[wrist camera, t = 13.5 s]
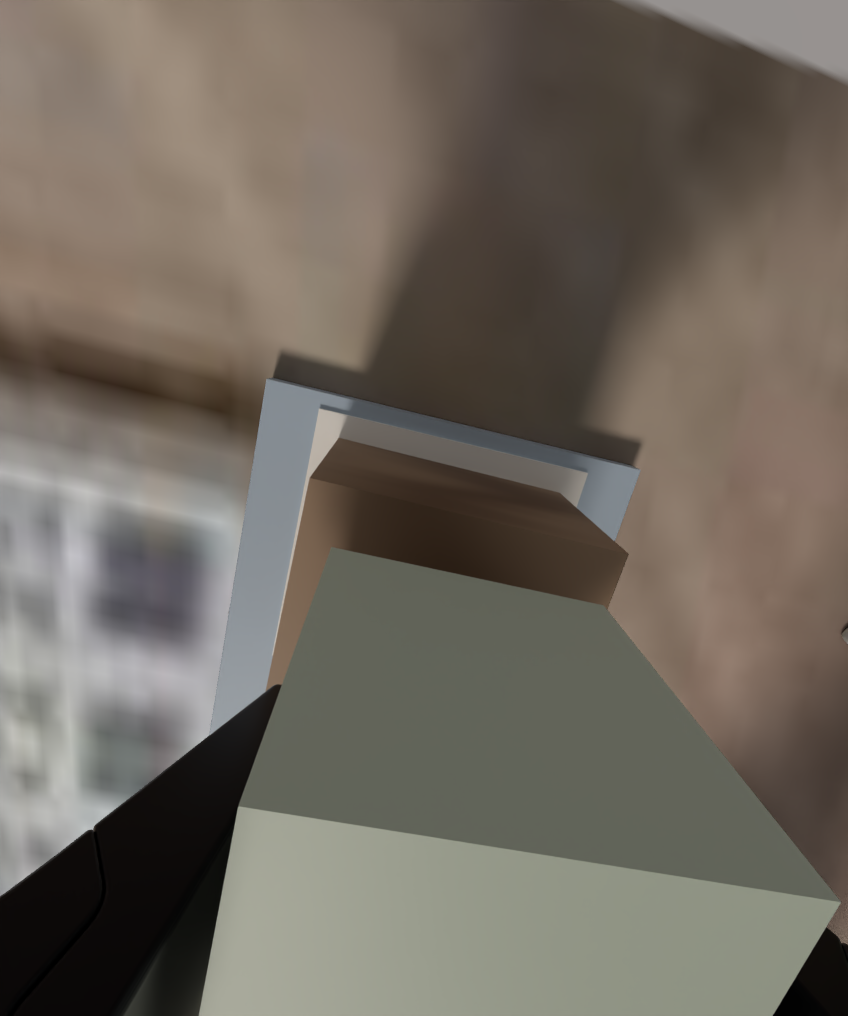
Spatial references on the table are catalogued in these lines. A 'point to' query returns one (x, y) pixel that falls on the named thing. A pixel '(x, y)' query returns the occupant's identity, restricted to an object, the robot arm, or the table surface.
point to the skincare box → (845, 635)
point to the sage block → (496, 823)
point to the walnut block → (441, 531)
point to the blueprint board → (328, 416)
